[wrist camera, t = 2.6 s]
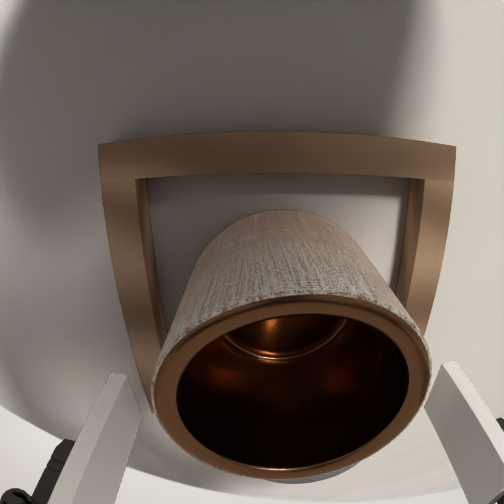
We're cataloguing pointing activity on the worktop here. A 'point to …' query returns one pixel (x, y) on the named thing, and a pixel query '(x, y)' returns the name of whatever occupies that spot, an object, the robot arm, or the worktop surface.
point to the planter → (288, 353)
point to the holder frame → (265, 161)
